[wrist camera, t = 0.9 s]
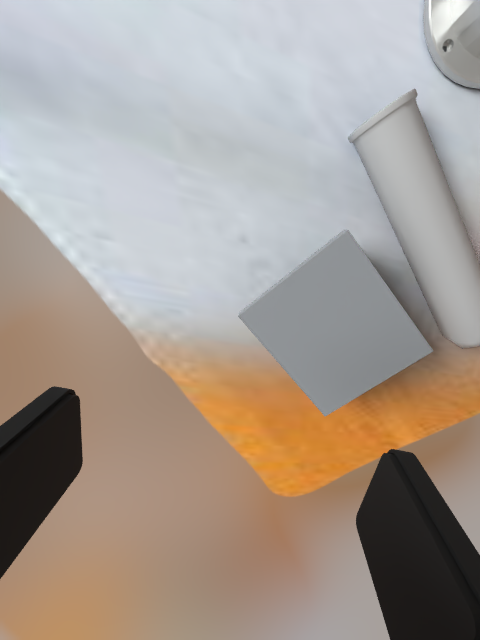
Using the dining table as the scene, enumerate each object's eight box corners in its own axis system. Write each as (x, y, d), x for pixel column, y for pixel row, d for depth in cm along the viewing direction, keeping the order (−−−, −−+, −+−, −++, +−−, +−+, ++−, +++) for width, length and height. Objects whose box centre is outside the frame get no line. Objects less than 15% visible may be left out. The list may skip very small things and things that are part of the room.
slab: (344, 229, 24) (348, 230, 23) (426, 345, 27) (433, 351, 26) (239, 312, 28) (238, 316, 26) (322, 409, 30) (325, 416, 29)
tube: (523, 332, 28) (428, 78, 22) (483, 363, 28) (375, 112, 22) (469, 323, 33) (381, 115, 27) (435, 350, 33) (337, 144, 27)
